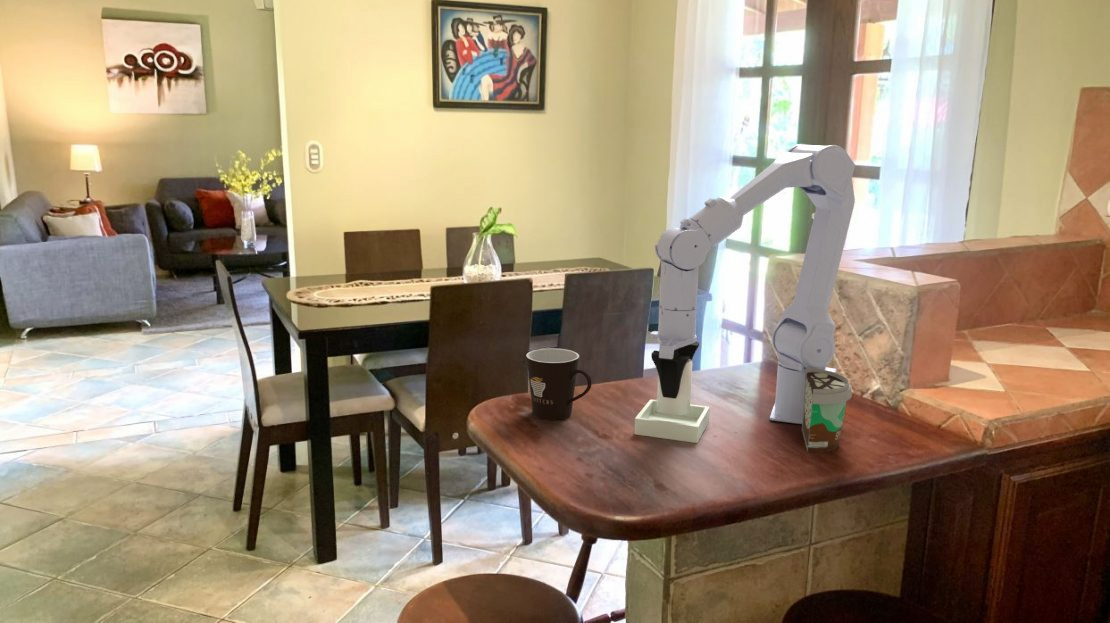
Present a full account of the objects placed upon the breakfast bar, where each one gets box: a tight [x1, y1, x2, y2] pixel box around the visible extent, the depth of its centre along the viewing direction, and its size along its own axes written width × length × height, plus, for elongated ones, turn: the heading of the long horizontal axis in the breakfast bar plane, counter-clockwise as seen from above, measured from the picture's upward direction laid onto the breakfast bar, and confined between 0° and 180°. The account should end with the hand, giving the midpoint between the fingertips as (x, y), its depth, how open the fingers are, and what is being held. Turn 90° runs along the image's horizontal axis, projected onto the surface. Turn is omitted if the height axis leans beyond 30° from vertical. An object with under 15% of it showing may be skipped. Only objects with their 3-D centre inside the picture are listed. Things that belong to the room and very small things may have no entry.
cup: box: [656, 359, 693, 415], centre depth 128 cm, size 5×5×8 cm
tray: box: [634, 399, 711, 444], centre depth 130 cm, size 10×10×3 cm
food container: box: [801, 367, 853, 453], centre depth 124 cm, size 12×6×10 cm, turn 168°
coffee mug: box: [525, 348, 592, 421], centre depth 133 cm, size 12×9×10 cm
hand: (673, 391), depth 128 cm, fingers closed on cup, 5 cm apart
